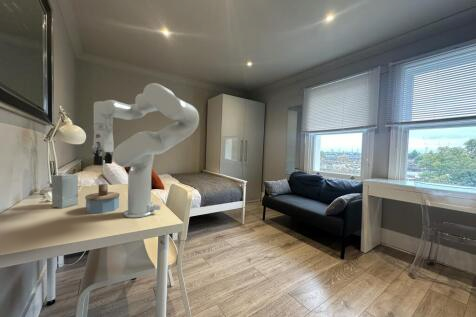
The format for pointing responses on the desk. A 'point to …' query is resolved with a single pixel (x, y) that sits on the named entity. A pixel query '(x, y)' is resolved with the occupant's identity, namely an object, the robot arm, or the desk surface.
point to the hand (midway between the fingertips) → (103, 164)
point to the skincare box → (64, 190)
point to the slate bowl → (102, 205)
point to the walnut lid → (102, 194)
